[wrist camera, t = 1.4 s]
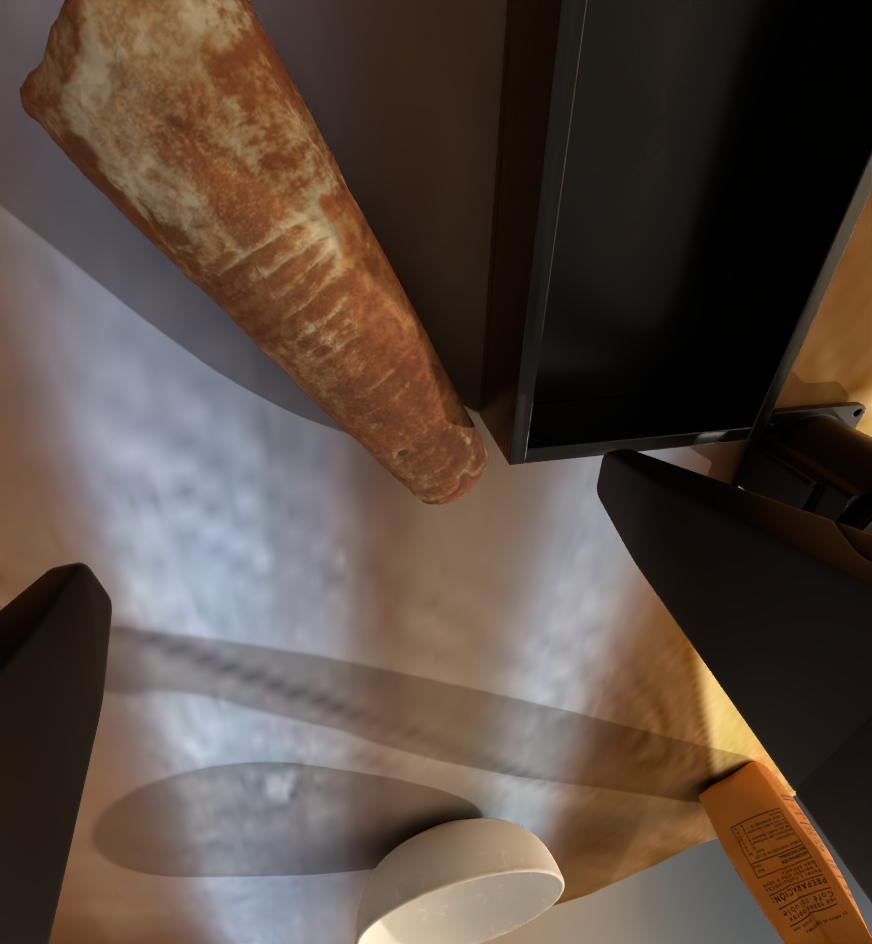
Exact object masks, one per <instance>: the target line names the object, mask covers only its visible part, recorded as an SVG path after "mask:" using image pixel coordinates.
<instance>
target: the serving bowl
mask: <svg viewBox="0 0 872 944" xmlns="http://www.w3.org/2000/svg"><path fill="white" fill-rule="evenodd" d="M563 890H564V879H563V877H562V875H561V873H560V870H559V868H558V866H557V864H556V862H555V860H554V859H553V857H552V855H551V854H550V852H549V851H548V849H547V848H546V846H545V845H544V844H543V843H542V842H541V841H540V840H539V839H538V838H537V837H536V836H535V835H534V834H533V833H531V832H530V831H528V830H527V829H525V828H524V827H522V826H520V825H518V824H515V823H512V822H509V821H505V820H501V819H491V818H477V819H464V820H455V821H450V822H446V823H443V824H440V825H437V826H434V827H432V828H430V829H428V830H426V831H424V832H422V833H420V834H417V835H415V836H414V837H412V838H410V839H408V840H406V841H405V842H403V843H402V844H400V845H399V846H397V847H396V848H395V849H394V850H392V851H391V852H390V853H389V854H388V855H387V856H386V857H385V858H384V859H383V860H382V861H381V862H380V863H379V864H378V866H377V867H376V868H375V870H374V871H373V873H372V874H371V876H370V878H369V880H368V882H367V884H366V886H365V888H364V891H363V894H362V897H361V900H360V904H359V909H358V914H357V923H356V939H355V944H480V943H483V942H485V941H488V940H491V939H494V938H496V937H499V936H501V935H504V934H506V933H508V932H510V931H512V930H514V929H516V928H518V927H520V926H522V925H524V924H526V923H527V922H529V921H530V920H532V919H534V918H536V917H537V916H539V915H540V914H542V913H543V912H544V911H546V910H547V909H548V908H550V907H551V906H552V905H553V904H554V903H555V902H556V901H557V900H558V899H559V897H560V896H561V894H562V892H563Z"/></svg>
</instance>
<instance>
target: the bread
mask: <svg viewBox="0 0 872 944" xmlns="http://www.w3.org/2000/svg"><path fill="white" fill-rule="evenodd" d="M20 96H21V103H22V107H23V108H24V110H25V111H26V113H27V114H28V115H29V116H30V117H32V118H33V119H35V120H36V121H37V122H39V123H40V124H41V125H42V126H43V128H44V129H45V130H46V131H47V132H48V134H49V135H50V136H51V138H52V139H53V140H54V142H55V143H56V144H57V145H58V146H59V147H60V148H61V149H62V150H63V151H64V152H65V154H66V155H67V156H68V157H69V158H70V159H71V160H72V162H73V163H74V164H75V165H76V166H77V167H78V168H79V169H80V171H81V172H82V173H83V174H84V175H85V176H86V177H87V178H88V179H89V180H90V181H91V182H92V183H93V184H94V185H95V186H96V187H97V188H98V189H99V190H100V191H102V192H103V193H104V194H105V195H106V196H107V197H108V198H109V199H110V200H111V201H112V202H113V203H114V204H115V205H116V207H117V208H118V209H119V210H120V211H121V212H122V213H123V214H124V215H125V216H126V217H127V218H128V219H129V220H130V221H131V222H132V223H133V224H134V225H135V226H136V227H137V228H138V229H139V230H140V231H141V232H142V233H143V234H144V235H145V236H146V237H147V238H148V239H150V240H151V241H152V242H153V243H154V244H155V245H156V246H157V247H158V248H159V249H160V250H161V251H162V252H163V253H164V254H165V255H166V256H167V257H168V258H169V259H170V260H171V261H172V262H173V263H174V264H175V265H177V266H178V267H179V268H180V270H181V271H182V272H183V273H184V274H185V276H186V277H187V278H188V279H189V280H191V281H192V282H193V283H195V284H196V285H198V286H199V287H200V288H202V289H203V290H204V291H205V292H206V293H207V294H208V295H209V296H210V297H211V298H212V299H213V300H214V301H215V302H216V303H217V304H218V305H220V306H221V307H222V308H223V309H224V311H225V312H226V313H227V314H228V315H229V316H230V317H231V318H232V319H233V320H234V321H235V322H236V323H237V324H238V325H239V326H240V327H241V328H242V329H243V330H244V331H245V332H246V333H247V334H248V335H249V336H250V337H251V338H252V339H253V340H254V341H255V343H256V344H257V345H258V346H259V347H260V348H261V349H262V351H263V352H264V353H265V354H266V355H267V356H268V357H270V358H271V359H272V360H273V361H274V362H276V363H277V364H278V365H279V366H280V367H281V368H282V369H283V370H284V371H285V372H286V373H287V374H288V375H289V376H290V377H291V378H292V379H293V380H294V381H295V382H296V384H297V385H298V386H299V387H300V388H301V389H303V390H304V391H305V392H306V393H307V394H308V395H309V397H310V398H311V399H313V400H314V401H315V402H316V403H317V404H318V405H319V406H320V407H321V408H322V409H323V410H324V411H325V412H326V413H327V414H328V415H330V416H331V417H332V418H333V419H334V420H335V421H336V422H337V423H338V424H339V425H340V426H341V427H342V428H343V429H344V430H345V431H346V432H347V433H349V434H350V435H351V436H352V437H354V438H355V439H356V440H357V441H358V442H360V443H361V444H362V445H363V446H364V447H365V449H366V450H367V451H368V452H369V453H370V454H371V455H372V456H373V457H374V458H375V459H376V460H377V461H378V462H379V463H380V464H381V465H382V466H383V467H385V468H386V469H387V470H388V471H389V472H390V473H391V474H392V475H393V476H395V477H396V478H397V479H398V480H399V481H400V482H401V483H402V484H403V485H405V486H406V487H407V488H408V489H409V490H410V491H411V492H412V493H413V494H414V495H415V496H416V497H418V498H419V499H420V500H422V501H423V502H425V503H427V504H438V505H440V504H445V503H450V502H453V501H455V500H458V499H459V498H461V497H463V496H464V495H465V494H467V493H468V492H469V491H470V490H471V489H472V488H473V487H474V486H475V484H476V483H477V481H478V479H479V478H480V476H481V473H482V469H484V468H485V467H486V466H487V464H488V461H489V458H488V454H487V451H486V447H485V445H484V443H483V441H482V438H481V436H480V435H479V433H478V431H477V429H476V427H475V425H474V423H473V422H472V420H471V418H470V416H469V415H468V413H467V411H466V409H465V407H464V405H463V403H462V401H461V399H460V397H459V395H458V393H457V391H456V389H455V387H454V386H453V384H452V382H451V380H450V378H449V376H448V375H447V373H446V371H445V369H444V367H443V365H442V363H441V361H440V359H439V357H438V355H437V353H436V351H435V349H434V347H433V345H432V343H431V341H430V339H429V337H428V335H427V333H426V331H425V329H424V328H423V326H422V324H421V322H420V320H419V318H418V316H417V314H416V312H415V310H414V308H413V307H412V305H411V303H410V301H409V299H408V297H407V295H406V293H405V292H404V290H403V288H402V286H401V284H400V282H399V280H398V279H397V277H396V275H395V273H394V271H393V269H392V267H391V265H390V263H389V261H388V259H387V257H386V256H385V254H384V252H383V250H382V249H381V247H380V245H379V243H378V241H377V240H376V238H375V236H374V234H373V233H372V231H371V229H370V227H369V225H368V223H367V221H366V219H365V217H364V215H363V213H362V211H361V210H360V208H359V206H358V205H357V203H356V201H355V200H354V198H353V197H352V195H351V193H350V191H349V190H348V187H347V185H346V183H345V181H344V178H343V176H342V174H341V171H340V169H339V167H338V165H337V163H336V161H335V158H334V156H333V154H332V153H331V151H330V150H329V148H328V147H327V145H326V143H325V141H324V139H323V137H322V135H321V133H320V131H319V129H318V127H317V125H316V123H315V121H314V120H313V118H312V116H311V114H310V112H309V110H308V108H307V107H306V105H305V103H304V101H303V99H302V97H301V96H300V94H299V92H298V90H297V88H296V86H295V84H294V82H293V81H292V79H291V77H290V75H289V73H288V71H287V69H286V67H285V65H284V63H283V61H282V59H281V57H280V55H279V53H278V52H277V50H276V49H275V47H274V46H273V44H272V43H271V41H270V39H269V38H268V36H267V34H266V32H265V31H264V29H263V27H262V26H261V24H260V22H259V20H258V18H257V16H256V14H255V12H254V10H253V8H252V6H251V4H250V2H249V1H248V0H65V1H64V4H63V6H62V8H61V11H60V13H59V16H58V18H57V20H56V21H55V23H54V24H53V25H52V27H51V29H50V33H49V37H48V42H47V46H46V50H45V55H44V59H43V60H42V62H41V63H40V64H39V66H38V67H37V68H36V69H34V70H33V71H32V72H31V73H29V74H28V76H27V78H26V80H25V82H24V83H23V85H22V86H21V88H20Z"/></svg>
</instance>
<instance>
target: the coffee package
mask: <svg viewBox="0 0 872 944" xmlns="http://www.w3.org/2000/svg"><path fill="white" fill-rule="evenodd" d="M699 799H700V801H701V803H702V804H703V806H704V808H705V811H706V813H707V815H708V817H709V819H710V821H711V823H712V825H713V827H714V829H715V831H716V833H717V835H718V838H719V840H720V842H721V844H722V846H723V848H724V850H725V852H726V854H727V856H728V858H729V860H730V861H731V863H732V865H733V866H734V868H735V869H736V871H737V873H738V874H739V876H740V877H741V879H742V880H743V882H744V883H745V885H746V886H747V888H748V890H749V891H750V892H751V894H752V895H753V897H754V899H755V900H756V902H757V903H758V905H759V906H760V908H761V909H762V911H763V912H764V914H765V915H766V917H767V918H768V920H769V921H770V923H771V924H772V925H773V927H774V929H775V930H776V931H777V933H778V934H779V936H780V937H781V938H782V940H783V941H784V943H785V944H872V937H871V935H870V933H869V932H868V930H867V927H866V925H865V923H864V921H863V918H862V916H861V914H860V912H859V909H858V907H857V905H856V903H855V901H854V899H853V897H852V894H851V892H850V891H849V888H848V886H847V884H846V882H845V880H844V878H843V876H842V875H841V873H840V871H839V869H838V868H837V866H836V864H835V862H834V861H833V859H832V857H831V855H830V854H829V852H828V850H827V849H826V847H825V845H824V844H823V842H822V841H821V839H820V837H819V836H818V834H817V833H816V832H815V830H814V828H813V827H812V825H811V824H810V822H809V821H808V819H807V818H806V817H805V815H804V813H803V812H802V810H801V809H800V808H799V806H798V805H797V803H796V802H795V800H794V799H793V798H792V796H791V795H790V794H789V792H788V791H787V789H786V788H785V787H784V785H783V784H782V783H781V781H780V780H779V779H778V777H777V776H776V775H775V774H774V773H772V772H771V771H770V770H769V769H768V768H767V767H765V766H763V765H761V764H759V763H758V762H750V763H747V764H746V765H745V766H744V767H742V768H741V769H739V770H738V771H736V772H734V773H733V774H731V775H730V776H728V777H726V778H725V779H723V780H721V781H719V782H717V783H715V784H713V785H711V786H710V787H709V788H708V789H707V790H706V791H704V792H703V793H701V794H699Z"/></svg>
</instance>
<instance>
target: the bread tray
mask: <svg viewBox="0 0 872 944" xmlns="http://www.w3.org/2000/svg"><path fill="white" fill-rule="evenodd" d="M871 190H872V0H507V13H506V28H505V43H504V58H503V72H502V87H501V102H500V117H499V132H498V147H497V162H496V177H495V192H494V207H493V222H492V236H491V251H490V266H489V281H488V296H487V311H486V326H485V341H484V356H483V371H482V386H481V400H480V416H481V418H482V420H483V422H484V423H485V425H486V427H487V428H488V430H489V432H490V433H491V435H492V437H493V438H494V440H495V442H496V443H497V445H498V447H499V448H500V450H501V452H502V453H503V455H504V457H505V458H506V460H507V462H508V463H509V465H513V464H523V463H525V462H526V463H531V462H540V461H550V460H560V459H570V458H579V457H589V456H599V455H605V454H606V453H607V452H609V451H614V450H619V449H630V450H633V451H636V452H638V451H648V450H658V449H668V448H677V447H687V446H697V445H707V444H717V443H726V442H736V441H746V440H757V439H760V438H761V436H762V434H763V432H764V429H765V427H766V425H767V423H768V420H769V418H770V416H771V414H772V412H773V409H774V407H775V405H776V403H777V400H778V398H779V396H780V394H781V391H782V389H783V387H784V385H785V383H786V380H787V378H788V376H789V374H790V371H791V369H792V367H793V365H794V362H795V360H796V358H797V356H798V353H799V351H800V349H801V347H802V345H803V342H804V340H805V338H806V336H807V333H808V331H809V329H810V327H811V324H812V322H813V320H814V318H815V315H816V313H817V311H818V309H819V307H820V304H821V302H822V300H823V298H824V295H825V293H826V291H827V289H828V286H829V284H830V282H831V280H832V278H833V275H834V273H835V271H836V269H837V266H838V264H839V262H840V260H841V257H842V255H843V253H844V251H845V248H846V246H847V244H848V242H849V240H850V237H851V235H852V233H853V231H854V228H855V226H856V224H857V222H858V219H859V217H860V215H861V213H862V211H863V208H864V206H865V204H866V202H867V199H868V197H869V195H870V193H871Z"/></svg>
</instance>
